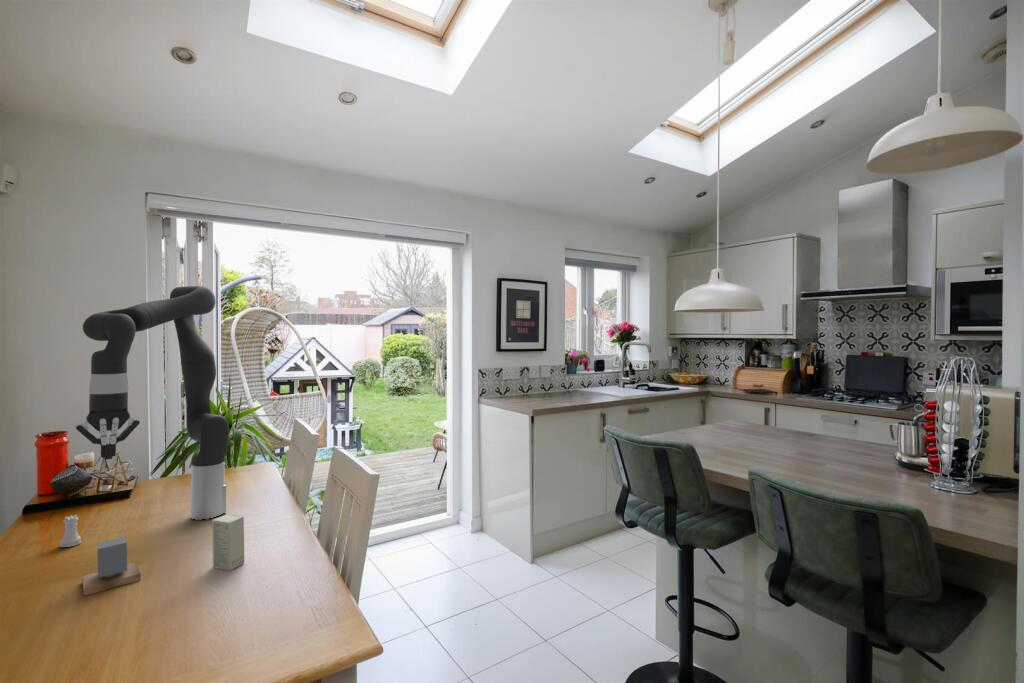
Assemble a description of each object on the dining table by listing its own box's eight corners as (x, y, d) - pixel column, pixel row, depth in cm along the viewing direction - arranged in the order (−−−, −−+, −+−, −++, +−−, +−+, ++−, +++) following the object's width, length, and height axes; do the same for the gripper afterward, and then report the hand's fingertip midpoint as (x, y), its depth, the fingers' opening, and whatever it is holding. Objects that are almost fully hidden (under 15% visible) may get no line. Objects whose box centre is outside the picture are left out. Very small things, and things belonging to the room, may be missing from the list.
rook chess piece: (67, 549, 129) (68, 520, 129) (55, 547, 130) (55, 518, 130) (85, 542, 133) (86, 514, 133) (73, 541, 134) (73, 513, 134)
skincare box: (244, 563, 121) (245, 516, 122) (229, 571, 117) (230, 522, 117) (226, 559, 123) (227, 513, 124) (210, 567, 119) (211, 519, 119)
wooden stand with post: (135, 568, 118) (136, 534, 118) (140, 580, 113) (141, 544, 113) (81, 582, 111) (82, 546, 111) (84, 595, 105) (84, 557, 106)
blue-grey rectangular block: (126, 563, 116) (126, 536, 116) (127, 570, 112) (126, 542, 112) (98, 570, 112) (97, 542, 112) (98, 577, 108) (97, 549, 108)
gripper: (139, 388, 128) (138, 452, 128) (73, 391, 119) (72, 460, 119) (143, 390, 123) (142, 457, 123) (74, 394, 113) (73, 466, 113)
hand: (108, 458), depth 121 cm, fingers closed
